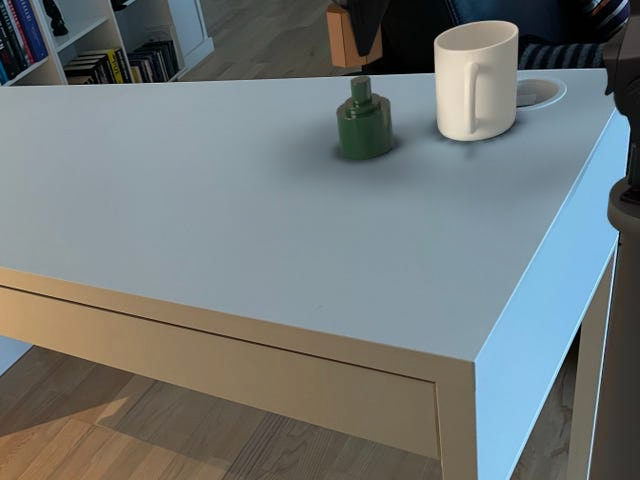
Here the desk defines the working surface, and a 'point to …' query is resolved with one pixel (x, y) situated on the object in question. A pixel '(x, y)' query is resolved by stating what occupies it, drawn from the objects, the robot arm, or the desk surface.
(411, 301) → the desk surface
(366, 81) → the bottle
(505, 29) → the cup
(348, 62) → the octagonal wooden prism
